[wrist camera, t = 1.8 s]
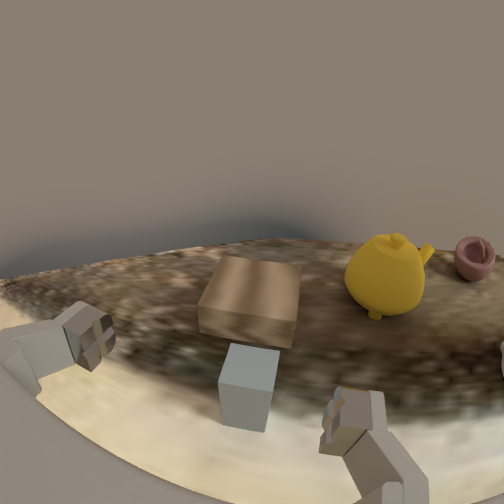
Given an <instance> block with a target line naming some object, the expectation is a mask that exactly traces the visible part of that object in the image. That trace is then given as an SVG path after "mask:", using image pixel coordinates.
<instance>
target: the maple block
mask: <svg viewBox="0 0 504 504" xmlns="http://www.w3.org/2000/svg"><path fill="white" fill-rule="evenodd" d="M301 269H302V266H299V265H291V264H284V263H276V262H269V261H261V260H254V259H247V258H239V257H232V256H225V255H223V257H222V259H221V261H220V263H219V264H218V266H217V268H216V270H215V272H214V274H213V276H212V277H211V279H210V281H209V283H208V285H207V287H206V289H205V290H204V292H203V294H202V296H201V298H200V300H199V302H198V304H197V313H198V322H199V330H200V333H204V334H209V335H214V336H219V337H224V338H229V339H235V340H240V341H246V342H252V343H258V344H264V345H270V346H277V347H284V348H291V347H292V342H293V337H294V332H295V327H296V323H297V314H298V304H299V293H300V281H301Z"/></svg>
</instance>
